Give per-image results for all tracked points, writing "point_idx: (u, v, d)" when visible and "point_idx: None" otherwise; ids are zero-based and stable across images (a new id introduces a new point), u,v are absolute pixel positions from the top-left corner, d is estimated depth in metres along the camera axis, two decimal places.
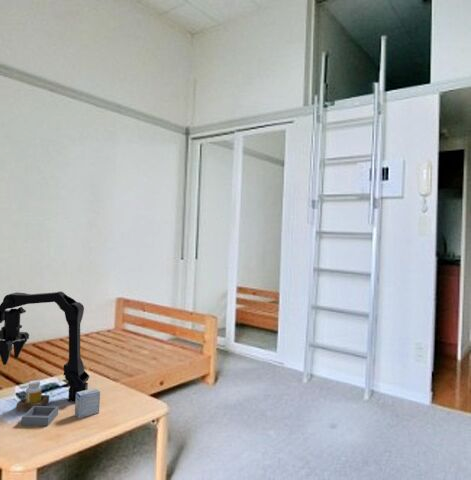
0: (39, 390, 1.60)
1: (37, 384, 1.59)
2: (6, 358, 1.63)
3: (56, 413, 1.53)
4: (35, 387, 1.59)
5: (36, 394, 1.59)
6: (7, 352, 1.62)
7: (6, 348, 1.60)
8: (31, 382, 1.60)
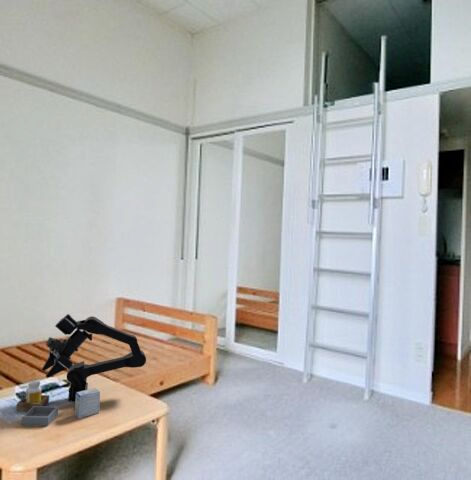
0: (39, 390, 1.60)
1: (37, 384, 1.59)
2: (54, 373, 1.59)
3: (56, 413, 1.53)
4: (35, 387, 1.59)
5: (36, 394, 1.59)
6: (61, 369, 1.60)
7: (69, 367, 1.59)
8: (31, 382, 1.60)
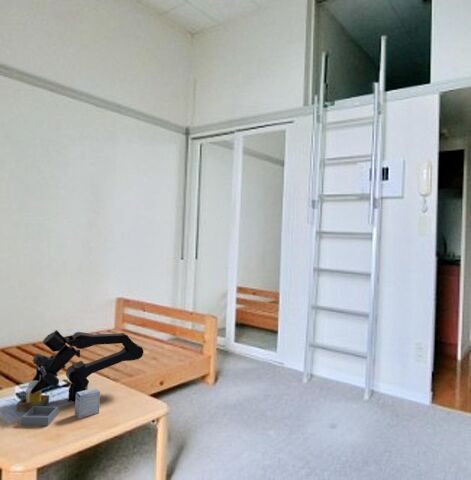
0: None
1: None
2: (39, 389, 1.58)
3: (56, 413, 1.53)
4: None
5: (36, 394, 1.59)
6: (46, 385, 1.59)
7: (55, 385, 1.56)
8: (31, 382, 1.60)
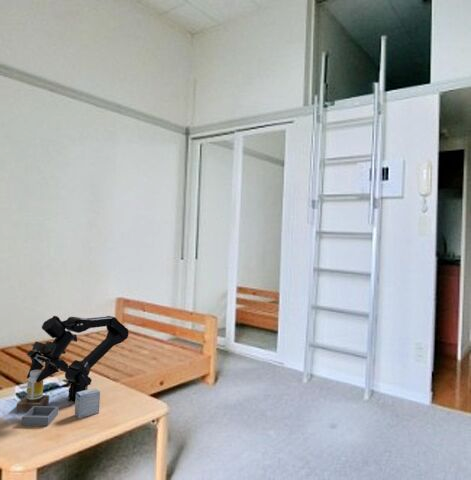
0: None
1: (40, 373, 1.53)
2: (45, 377, 1.52)
3: (56, 413, 1.53)
4: None
5: (41, 383, 1.52)
6: (52, 372, 1.54)
7: (65, 370, 1.54)
8: (33, 371, 1.52)
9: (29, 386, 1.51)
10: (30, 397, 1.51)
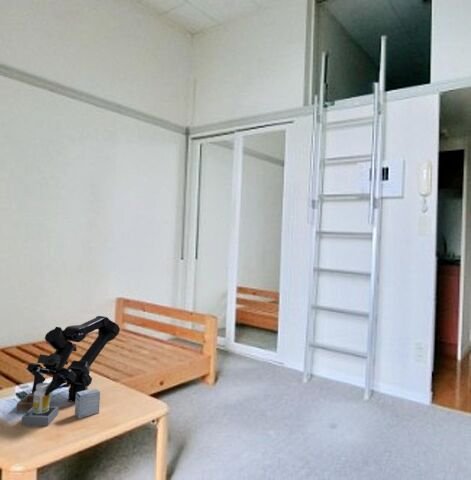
0: None
1: (47, 386, 1.50)
2: (53, 389, 1.50)
3: (56, 413, 1.53)
4: (46, 389, 1.49)
5: (48, 396, 1.50)
6: (60, 384, 1.52)
7: (74, 380, 1.53)
8: (39, 385, 1.49)
9: (37, 400, 1.47)
10: (38, 411, 1.47)
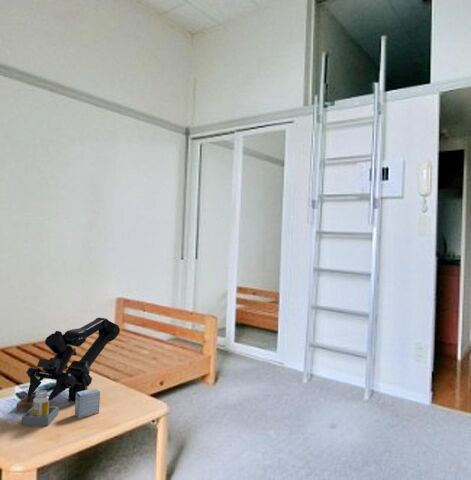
0: None
1: (47, 392, 1.50)
2: (56, 394, 1.49)
3: (56, 413, 1.53)
4: (45, 396, 1.50)
5: (48, 403, 1.50)
6: (63, 389, 1.51)
7: (73, 385, 1.53)
8: (39, 392, 1.49)
9: (36, 407, 1.47)
10: None
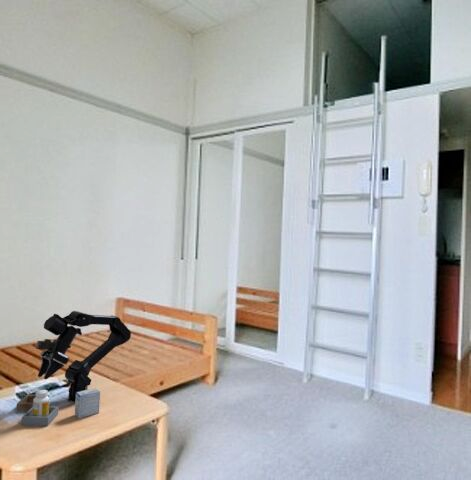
0: None
1: (47, 392, 1.50)
2: (52, 373, 1.54)
3: (56, 413, 1.53)
4: (46, 396, 1.50)
5: (48, 403, 1.50)
6: (58, 367, 1.55)
7: (66, 362, 1.54)
8: (39, 392, 1.49)
9: (36, 407, 1.47)
10: None
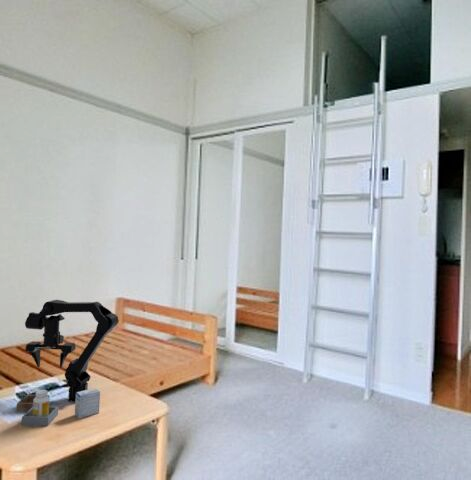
0: None
1: (47, 392, 1.50)
2: None
3: (56, 413, 1.53)
4: (46, 396, 1.50)
5: (48, 403, 1.50)
6: None
7: (25, 349, 1.68)
8: (39, 392, 1.49)
9: (36, 407, 1.47)
10: None
